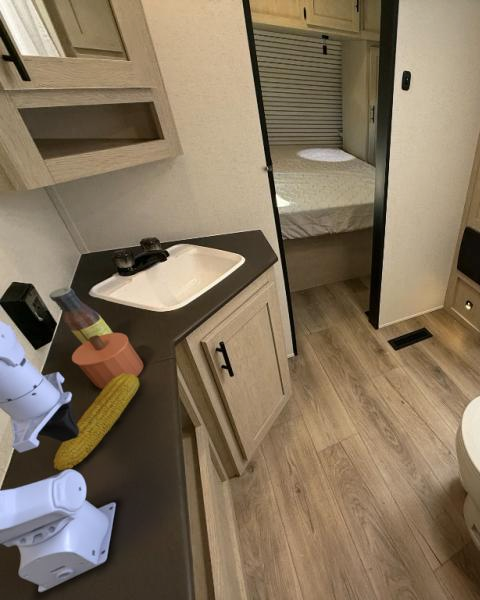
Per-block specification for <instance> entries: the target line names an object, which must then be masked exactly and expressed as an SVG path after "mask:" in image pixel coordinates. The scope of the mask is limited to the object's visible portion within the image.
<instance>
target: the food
mask: <svg viewBox="0 0 480 600" xmlns="http://www.w3.org/2000/svg"><path fill="white" fill-rule="evenodd" d="M139 387H140V380H139V378H138V376H137V377H136V376H135V375H133V374H125V373H123V374H121V375H118V376H116V377H114V378H113V379H112V380H111V381H110V382H109V383H108V384H107V386H105V388H104V389H101V391H100V392H99V394H98V396H96V398H95V400H94V401H93V402H92V404H91V405H90V406H89V407H88V408H87V410H86V411H84V413H83V415H82V416H81V417H80V419H79V420H78V422H76V423H77V426H78V428H79V434H78V437H77V438H74V439H71V440H68V441H65V442H62V443H61V445H60V446H59V448H58V450H57V451H56V454H55V455H54V457H55V458H54V459H53V469H55V470H58V471H65V470H68V469H73V467H74V466H77V464H80V463H81V462H83V460H84V459H86V458H87V456H89V454H90V453H92V451H93V450H94V449H95V448H96V447H97V446H98V444H99V443H100V442H101V441H102V440H103V438H104V437H105V435H106V434H107V433H108V432H109V431H111V428H112V427H113V426H114V425H115V424H116V422H117V421H118V419H119V418H120V416H121V415H122V413H123V412H124V410H125V409H126V408H127V406H128V405H129V403H130V402H131V400H132V399H133V397H134V396H135V395H136V394H137V392H138V390H139Z"/></svg>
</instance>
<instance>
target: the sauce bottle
mask: <svg viewBox="0 0 480 600" xmlns="http://www.w3.org/2000/svg"><path fill="white" fill-rule="evenodd" d="M49 298H50V299H51V301H53V302H55V303H56V305H57V306H58V307H59V308H60V310H61V312H62V321H63V322H64V323H65V325H66V326H67V327H68V329H69V330H70V331H71V332H72V333H73V335H74V336H75V337H76V338H77V339H78V340H79V342H81V345H82V344H84V343H86V342H87V341H88V339H89V338H90V337H92V336H96V335H98V336H101V335H105V334H109V333H114V332H113V331H112V329H111V328H110V326H109V325H108V324H107V323H106V322H105V319H103V318H102V316H101V314H100V313H98V311H96V310H95V309H93V308H92V307H90V306H89V305H87V304H86V303H84V302H82V301H81V300H80V299H79V297H78V296H77V295H76V292H75V290H74V289H72V287H68V286H67V287H66V286H65V287H61V288H58V289H55V290H53V291H51V292H50V293H49Z"/></svg>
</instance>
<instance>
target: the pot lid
mask: <svg viewBox="0 0 480 600" xmlns="http://www.w3.org/2000/svg"><path fill="white" fill-rule="evenodd" d="M128 342H129V343H130V341H129V337H128V336H127V335H126V334H124V333H121V332H113V333H109V334H105V335H101V336H98V335H96V336H92V337H90V338H89V339H88V341H87V342H86V343H84V344H82V343H81V345H80V346H79V347H77V348H76V349H75V350H74V352H73V353H72V356H71V360H72V362H73V363H74V364H75V365H77V366H78V365H81V366H88V365H94V364H98V363H101V362H104V361H107V360H109V359H111V358H113V357H114V356H116V355H118V354H119V353H120V352H122V351H123V350H124V349H125V348H126V346H127V345H128Z"/></svg>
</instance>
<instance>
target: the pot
mask: <svg viewBox="0 0 480 600" xmlns="http://www.w3.org/2000/svg"><path fill="white" fill-rule="evenodd" d="M77 366H78V367H79V368H80V369H81V370H82V371H83V373H84V374H85V376H87V378H88V379H89V380H90V381H91V382H92V383H93V385H94V386H95V387H97V388H99V389H101V390H103V389H104V388H105V386H107V384H108V383H109V382H110V381H111V380H112V379H113V378H114V377H116V376H118V375H121V374H123V373H125V374H133V375H135V376H136V377H137V378H138V376H139V375H140V374H141V372H142V371H143V369H144V362H143V361H142V359H141V358H140V356H139V354H138V353H137V352H136V350H135V349H134V347H133V346H132V344H131V343H130V341H129V342H128V345H127V346H126V348H125V349H124V350H123V351H122V352H120V353H119V354H118V355H116V356H114V357H113V358H111V359H109V360H107V361H104V362H101V363H98V364H94V365H88V366H81V365H77Z"/></svg>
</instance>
